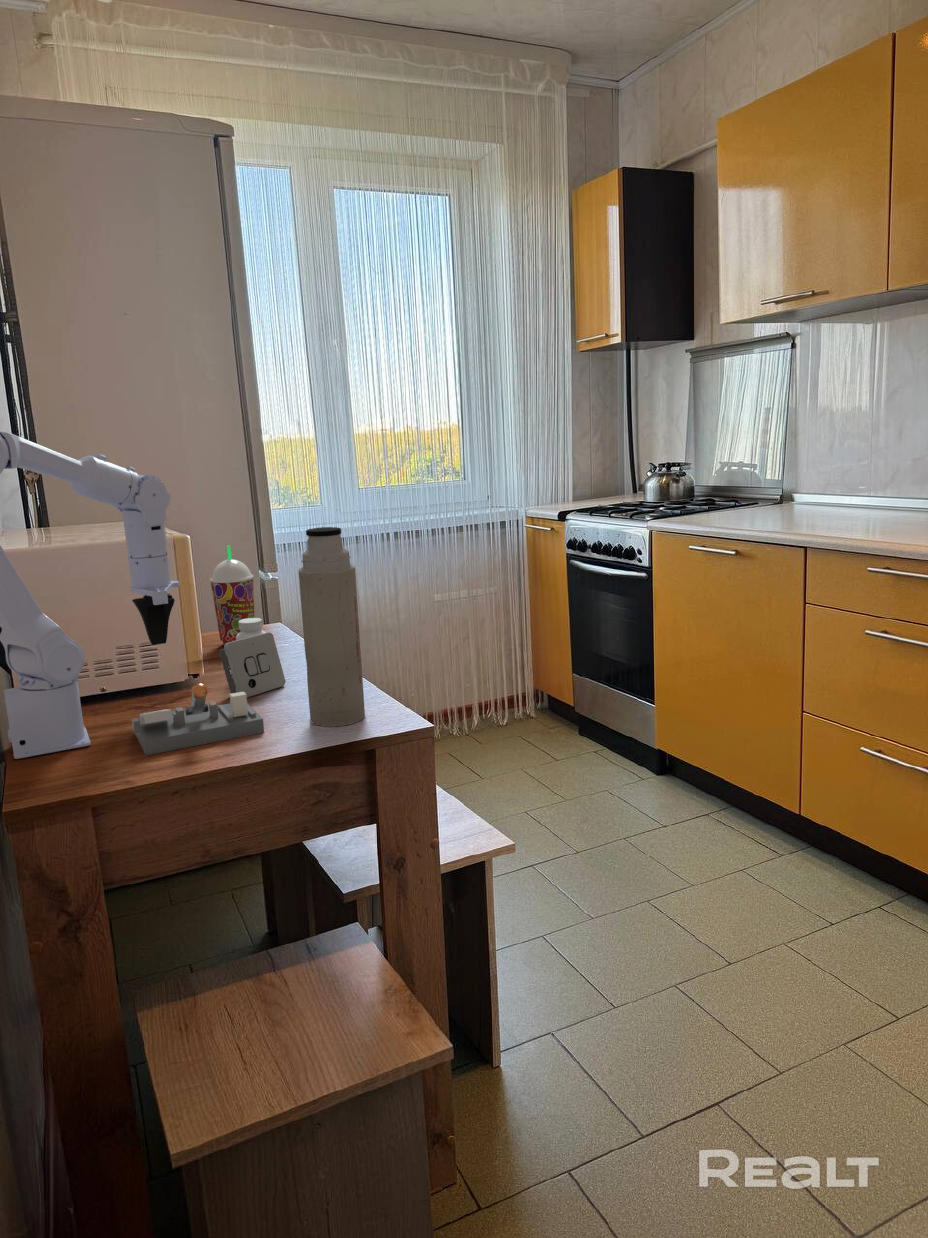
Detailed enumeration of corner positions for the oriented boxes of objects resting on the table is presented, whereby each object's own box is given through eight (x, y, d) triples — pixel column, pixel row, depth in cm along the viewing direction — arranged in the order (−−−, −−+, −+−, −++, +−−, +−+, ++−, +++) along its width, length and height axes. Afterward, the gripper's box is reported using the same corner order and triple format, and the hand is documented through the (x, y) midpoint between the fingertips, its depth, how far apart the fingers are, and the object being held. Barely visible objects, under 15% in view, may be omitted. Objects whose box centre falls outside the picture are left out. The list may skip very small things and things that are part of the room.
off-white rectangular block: (234, 717, 123) (232, 696, 122) (231, 714, 125) (229, 694, 124) (248, 714, 124) (246, 694, 123) (245, 711, 125) (243, 691, 125)
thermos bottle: (366, 707, 132) (353, 523, 126) (363, 725, 125) (350, 529, 119) (313, 710, 132) (298, 526, 126) (307, 728, 124) (291, 532, 118)
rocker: (145, 723, 117) (144, 713, 117) (140, 722, 122) (139, 713, 122) (173, 718, 119) (171, 708, 119) (167, 717, 124) (165, 708, 124)
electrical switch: (241, 701, 138) (232, 644, 137) (221, 699, 142) (213, 643, 140) (287, 686, 145) (279, 632, 144) (267, 684, 149) (259, 631, 147)
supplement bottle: (239, 679, 150) (233, 624, 148) (239, 671, 155) (234, 618, 153) (271, 676, 151) (266, 622, 149) (270, 668, 156) (265, 615, 154)
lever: (187, 720, 123) (191, 696, 117) (183, 706, 124) (187, 682, 118) (208, 716, 124) (213, 692, 118) (205, 702, 125) (210, 678, 119)
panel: (141, 756, 116) (137, 727, 115) (130, 734, 124) (127, 708, 124) (264, 732, 123) (261, 705, 122) (246, 713, 132) (243, 687, 131)
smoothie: (237, 651, 170) (227, 549, 165) (207, 646, 174) (197, 547, 170) (268, 641, 177) (259, 543, 172) (239, 637, 181) (230, 541, 177)
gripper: (184, 558, 126) (194, 648, 129) (167, 547, 139) (176, 630, 142) (133, 563, 123) (145, 656, 126) (120, 552, 136) (130, 637, 139)
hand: (158, 643), depth 134 cm, fingers closed
